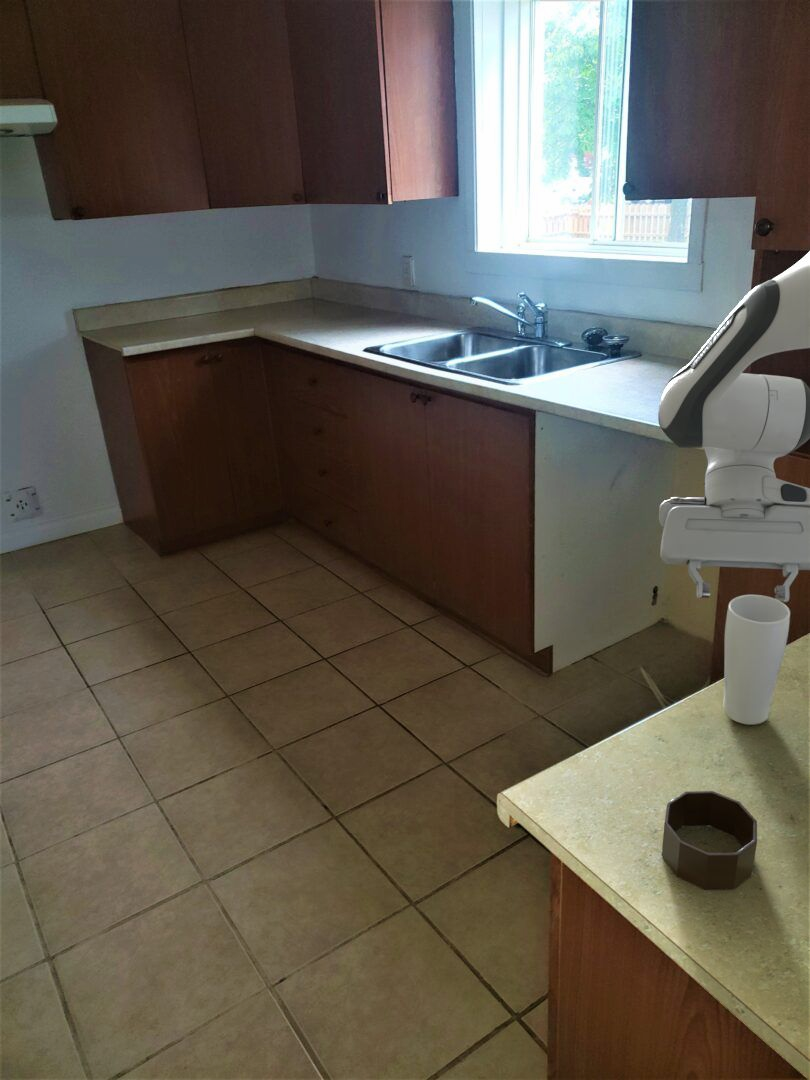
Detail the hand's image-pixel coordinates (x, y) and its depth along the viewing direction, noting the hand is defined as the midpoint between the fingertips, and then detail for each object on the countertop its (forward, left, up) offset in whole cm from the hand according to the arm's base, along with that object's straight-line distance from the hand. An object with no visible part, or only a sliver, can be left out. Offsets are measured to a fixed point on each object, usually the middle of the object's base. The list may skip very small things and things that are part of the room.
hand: (742, 598), depth 104 cm
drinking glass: (-2, +10, -11) cm, 15 cm away
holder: (+2, +34, -11) cm, 36 cm away
